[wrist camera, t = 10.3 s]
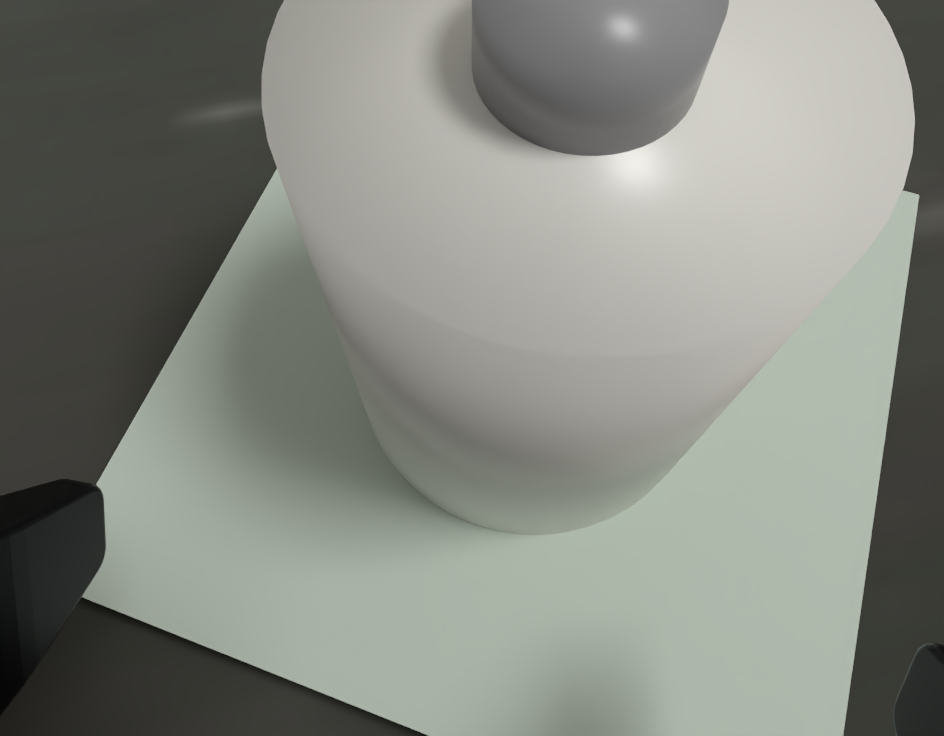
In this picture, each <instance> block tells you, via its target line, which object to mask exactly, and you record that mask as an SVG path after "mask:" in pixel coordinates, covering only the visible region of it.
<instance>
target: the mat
mask: <svg viewBox="0 0 944 736" xmlns="http://www.w3.org/2000/svg"><path fill="white" fill-rule="evenodd" d="M918 200H919V195H917V194H914V193H910V192H906V191H903V190H902V192H901V194H900V196H899V198H898V201H897V203H896V205H895V207H894V209H893V212H892V214H891V216H890V218H889V220H888V221H887V223H886V224H885V226H884V227H883V229H882V230H881V232H880V233H879V234H878V236H877V237H876V239H875V240H874V242H873V243H872V245H871V246H870V247H869V249H868V250H867V252H866V253H865V254H864V255H863V256H862V257H861V258H860V259H859V260H858V262H857V263H856V264H855V265H854V266H853V267H852V268H851V269H850V271H849V272H848V273H847V274H846V275H845V276H844V277H843V278H842V279H841V281H840V282H839V283H838V284H837V285H836V286H835V287H834V288H833V289H832V291H831V292H830V293H829V294H828V295H827V296H826V297H825V298H824V300H823V301H822V302H821V303H820V304H819V305H818V306H817V307H816V308H815V310H814V311H813V312H812V313H811V314H810V315H809V316H808V317H807V319H806V320H805V321H804V322H803V323H802V324H801V325H800V326H799V327H798V329H797V330H796V331H795V332H794V333H793V334H792V335H791V336H790V337H789V339H788V340H787V341H786V342H785V343H784V344H783V345H782V346H781V348H780V349H779V350H778V351H777V352H776V353H775V354H774V355H773V356H772V358H771V359H770V360H769V361H768V362H767V363H766V364H765V365H764V367H763V368H762V369H761V370H760V371H759V372H758V373H757V374H756V375H755V377H754V378H753V379H752V380H751V381H750V382H749V383H748V384H747V385H746V387H745V388H744V389H743V390H742V391H741V392H740V393H739V394H738V396H737V397H736V398H735V399H734V400H733V401H732V402H731V403H730V404H729V406H728V407H727V408H726V409H725V410H724V411H723V412H722V413H721V414H720V416H719V417H718V418H717V419H716V420H715V421H714V422H713V423H712V425H711V426H710V427H709V428H708V429H707V430H706V431H705V432H704V433H703V435H702V436H701V437H700V438H699V439H698V440H697V441H696V442H695V444H694V445H693V446H692V447H691V448H690V449H689V450H688V451H687V452H686V454H685V455H684V456H683V457H682V458H681V459H680V460H679V461H678V462H677V464H676V465H675V466H674V467H673V468H672V469H671V470H670V471H669V473H668V474H667V475H666V476H665V477H664V478H663V479H662V480H661V481H660V482H659V483H658V484H657V485H656V486H655V487H654V488H653V489H652V490H651V491H650V492H649V493H648V494H647V495H646V496H644V497H643V498H642V499H640V500H639V501H638V502H637V503H635V504H634V505H633V506H631V507H630V508H628V509H626V510H624V511H623V512H621V513H619V514H617V515H616V516H614V517H612V518H610V519H607V520H605V521H602V522H600V523H597V524H595V525H592V526H589V527H585V528H581V529H577V530H573V531H569V532H563V533H554V534H545V535H535V534H515V533H508V532H502V531H495V530H492V529H489V528H485V527H482V526H478V525H475V524H472V523H469V522H467V521H465V520H463V519H460V518H458V517H456V516H454V515H451V514H449V513H448V512H446V511H445V510H443V509H441V508H440V507H438V506H436V505H435V504H433V503H431V502H430V501H429V500H427V499H426V498H425V497H424V496H422V495H421V494H420V493H419V492H418V491H416V490H415V489H414V488H413V487H412V486H411V485H410V484H409V483H408V482H407V481H406V480H405V479H404V478H403V477H402V476H401V475H400V474H399V473H398V472H397V470H396V469H395V468H394V466H393V465H392V463H391V462H390V461H389V459H388V458H387V456H386V455H385V454H384V452H383V450H382V448H381V446H380V444H379V442H378V440H377V438H376V437H375V435H374V432H373V430H372V427H371V424H370V421H369V419H368V416H367V413H366V410H365V408H364V405H363V402H362V399H361V397H360V394H359V391H358V388H357V386H356V383H355V380H354V378H353V375H352V372H351V369H350V367H349V364H348V361H347V358H346V356H345V353H344V350H343V347H342V345H341V342H340V339H339V336H338V334H337V331H336V328H335V325H334V323H333V320H332V317H331V315H330V312H329V309H328V306H327V304H326V301H325V298H324V295H323V293H322V290H321V287H320V284H319V282H318V279H317V276H316V273H315V271H314V268H313V265H312V262H311V260H310V257H309V254H308V252H307V249H306V246H305V243H304V241H303V238H302V235H301V232H300V230H299V227H298V224H297V221H296V219H295V216H294V213H293V210H292V208H291V205H290V202H289V200H288V197H287V194H286V191H285V189H284V186H283V183H282V180H281V178H280V175H279V172H278V169H276V171H275V173H274V175H273V176H272V178H271V180H270V182H269V183H268V185H267V187H266V189H265V190H264V192H263V194H262V196H261V197H260V199H259V201H258V203H257V204H256V206H255V208H254V210H253V211H252V213H251V215H250V217H249V218H248V220H247V222H246V224H245V225H244V227H243V229H242V231H241V232H240V234H239V236H238V238H237V239H236V241H235V243H234V245H233V246H232V248H231V250H230V252H229V253H228V255H227V257H226V259H225V260H224V262H223V264H222V266H221V267H220V269H219V271H218V273H217V274H216V276H215V278H214V280H213V281H212V283H211V285H210V287H209V288H208V290H207V292H206V293H205V295H204V297H203V299H202V300H201V302H200V304H199V306H198V307H197V309H196V311H195V313H194V314H193V316H192V318H191V320H190V321H189V323H188V325H187V327H186V328H185V330H184V332H183V334H182V335H181V337H180V339H179V341H178V342H177V344H176V346H175V348H174V349H173V351H172V353H171V355H170V356H169V358H168V360H167V362H166V363H165V365H164V367H163V369H162V370H161V372H160V374H159V376H158V377H157V379H156V381H155V383H154V384H153V386H152V388H151V390H150V391H149V393H148V395H147V397H146V398H145V400H144V402H143V404H142V405H141V407H140V409H139V411H138V412H137V414H136V416H135V418H134V419H133V421H132V423H131V425H130V426H129V428H128V430H127V432H126V433H125V435H124V437H123V439H122V440H121V442H120V444H119V446H118V447H117V449H116V451H115V453H114V454H113V456H112V458H111V460H110V461H109V463H108V465H107V467H106V468H105V470H104V472H103V474H102V475H101V477H100V479H99V481H98V482H97V484H96V485H97V486H98V487H99V488H100V489H101V491H102V493H103V497H104V513H105V535H106V551H105V556H104V560H103V562H102V565H101V567H100V569H99V571H98V572H97V574H96V575H95V577H94V579H93V580H92V582H91V583H90V585H89V586H88V588H87V589H86V591H85V592H84V594H83V596H82V597H83V598H85V599H88V600H90V601H93V602H95V603H98V604H100V605H103V606H105V607H108V608H110V609H113V610H115V611H118V612H120V613H123V614H125V615H128V616H130V617H133V618H135V619H138V620H140V621H143V622H145V623H148V624H150V625H153V626H155V627H158V628H160V629H163V630H165V631H168V632H170V633H173V634H175V635H178V636H180V637H183V638H185V639H188V640H190V641H193V642H195V643H198V644H200V645H203V646H205V647H208V648H210V649H213V650H215V651H218V652H220V653H223V654H225V655H228V656H230V657H233V658H235V659H238V660H240V661H243V662H245V663H248V664H250V665H253V666H255V667H258V668H260V669H263V670H265V671H268V672H271V673H273V674H276V675H278V676H281V677H283V678H286V679H288V680H291V681H293V682H296V683H298V684H301V685H303V686H306V687H308V688H311V689H313V690H316V691H318V692H321V693H323V694H326V695H328V696H331V697H333V698H336V699H338V700H341V701H343V702H346V703H348V704H351V705H353V706H356V707H358V708H361V709H363V710H366V711H368V712H371V713H373V714H376V715H378V716H381V717H383V718H386V719H388V720H391V721H393V722H396V723H398V724H401V725H403V726H406V727H408V728H411V729H413V730H416V731H418V732H421V733H423V734H426V735H428V736H843V732H844V725H845V718H846V711H847V704H848V697H849V690H850V683H851V676H852V669H853V661H854V654H855V647H856V640H857V633H858V626H859V619H860V612H861V605H862V598H863V591H864V583H865V576H866V569H867V562H868V555H869V548H870V541H871V534H872V527H873V520H874V513H875V505H876V498H877V491H878V484H879V477H880V470H881V463H882V456H883V449H884V442H885V435H886V427H887V420H888V413H889V406H890V399H891V392H892V385H893V378H894V371H895V364H896V357H897V349H898V342H899V335H900V328H901V321H902V314H903V307H904V300H905V293H906V286H907V278H908V271H909V264H910V257H911V250H912V243H913V236H914V229H915V222H916V215H917V208H918Z"/></svg>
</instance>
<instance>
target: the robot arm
mask: <svg viewBox="0 0 944 736" xmlns="http://www.w3.org/2000/svg"><path fill="white" fill-rule="evenodd" d="M105 551H106V535H105V513H104V497H103V493H102V491H101V489H100V488H99V487H98V486H97V485H95V484H90V483H85V482H80V481H75V480H69V479H60V480H56V481H52V482H49V483H45V484H41V485H38V486H34V487H31V488H27V489H24V490H20V491H16V492H13V493H9V494H6V495H2V496H0V715H1V714H2V713H3V712H4V710H5V709H6V708H7V707H8V705H9V704H10V703H11V701H12V700H13V699H14V697H15V696H16V695H17V693H18V692H19V691H20V689H21V688H22V687H23V685H24V684H25V683H26V681H27V680H28V678H29V677H30V675H31V674H32V673H33V671H34V670H35V668H36V667H37V665H38V664H39V662H40V661H41V659H42V658H43V656H44V654H45V653H46V651H47V650H48V648H49V647H50V645H51V644H52V642H53V640H54V639H55V637H56V636H57V634H58V633H59V631H60V630H61V628H62V627H63V625H64V623H65V622H66V620H67V619H68V617H69V616H70V614H71V613H72V611H73V610H74V608H75V606H76V605H77V603H78V602H79V600H80V599H81V597H82V596H83V594H84V592H85V591H86V589H87V588H88V586H89V585H90V583H91V582H92V580H93V579H94V577H95V575H96V574H97V572H98V571H99V569H100V567H101V565H102V562H103V560H104V556H105ZM893 720H894V727H895V732H896V736H944V645H941V644H936V643H927V644H924V645H922V646H921V647H920V648H919V649H918V650H917V652H916V654H915V656H914V658H913V661H912V663H911V665H910V668H909V670H908V672H907V675H906V677H905V679H904V682H903V684H902V686H901V689H900V691H899V694H898V696H897V698H896V701H895V705H894V710H893Z"/></svg>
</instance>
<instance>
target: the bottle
mask: <svg viewBox="0 0 944 736" xmlns="http://www.w3.org/2000/svg"><path fill="white" fill-rule="evenodd" d="M262 112H263V118H264V123H265V129H266V135H267V141H268V144H269V147H270V149H271V152H272V155H273V158H274V161H275V164H276V166H277V169H278V172H279V175H280V178H281V180H282V183H283V186H284V189H285V191H286V194H287V197H288V200H289V202H290V205H291V208H292V210H293V213H294V216H295V219H296V221H297V224H298V227H299V230H300V232H301V235H302V238H303V241H304V243H305V246H306V249H307V252H308V254H309V257H310V260H311V262H312V265H313V268H314V271H315V273H316V276H317V279H318V282H319V284H320V287H321V290H322V293H323V295H324V298H325V301H326V304H327V306H328V309H329V312H330V315H331V317H332V320H333V323H334V325H335V328H336V331H337V334H338V336H339V339H340V342H341V345H342V347H343V350H344V353H345V356H346V358H347V361H348V364H349V367H350V369H351V372H352V375H353V378H354V380H355V383H356V386H357V388H358V391H359V394H360V397H361V399H362V402H363V405H364V408H365V410H366V413H367V416H368V419H369V421H370V424H371V427H372V430H373V432H374V435H375V437H376V438H377V440H378V442H379V444H380V446H381V448H382V450H383V452H384V454H385V455H386V456H387V458H388V459H389V461H390V462H391V463H392V465H393V466H394V468H395V469H396V470H397V472H398V473H399V474H400V475H401V476H402V477H403V478H404V479H405V480H406V481H407V482H408V483H409V484H410V485H411V486H412V487H413V488H414V489H415V490H416V491H418V492H419V493H420V494H421V495H422V496H424V497H425V498H426V499H427V500H429V501H430V502H431V503H433V504H435V505H436V506H438V507H440V508H441V509H443V510H445V511H446V512H448V513H449V514H451V515H454V516H456V517H458V518H460V519H463V520H465V521H467V522H469V523H472V524H475V525H478V526H482V527H485V528H489V529H492V530H495V531H502V532H508V533H515V534H535V535H545V534H554V533H563V532H569V531H573V530H577V529H581V528H585V527H589V526H592V525H595V524H597V523H600V522H602V521H605V520H607V519H610V518H612V517H614V516H616V515H617V514H619V513H621V512H623V511H624V510H626V509H628V508H630V507H631V506H633V505H634V504H635V503H637V502H638V501H639V500H640V499H642V498H643V497H644V496H646V495H647V494H648V493H649V492H650V491H651V490H652V489H653V488H654V487H655V486H656V485H657V484H658V483H659V482H660V481H661V480H662V479H663V478H664V477H665V476H666V475H667V474H668V473H669V471H670V470H671V469H672V468H673V467H674V466H675V465H676V464H677V462H678V461H679V460H680V459H681V458H682V457H683V456H684V455H685V454H686V452H687V451H688V450H689V449H690V448H691V447H692V446H693V445H694V444H695V442H696V441H697V440H698V439H699V438H700V437H701V436H702V435H703V433H704V432H705V431H706V430H707V429H708V428H709V427H710V426H711V425H712V423H713V422H714V421H715V420H716V419H717V418H718V417H719V416H720V414H721V413H722V412H723V411H724V410H725V409H726V408H727V407H728V406H729V404H730V403H731V402H732V401H733V400H734V399H735V398H736V397H737V396H738V394H739V393H740V392H741V391H742V390H743V389H744V388H745V387H746V385H747V384H748V383H749V382H750V381H751V380H752V379H753V378H754V377H755V375H756V374H757V373H758V372H759V371H760V370H761V369H762V368H763V367H764V365H765V364H766V363H767V362H768V361H769V360H770V359H771V358H772V356H773V355H774V354H775V353H776V352H777V351H778V350H779V349H780V348H781V346H782V345H783V344H784V343H785V342H786V341H787V340H788V339H789V337H790V336H791V335H792V334H793V333H794V332H795V331H796V330H797V329H798V327H799V326H800V325H801V324H802V323H803V322H804V321H805V320H806V319H807V317H808V316H809V315H810V314H811V313H812V312H813V311H814V310H815V308H816V307H817V306H818V305H819V304H820V303H821V302H822V301H823V300H824V298H825V297H826V296H827V295H828V294H829V293H830V292H831V291H832V289H833V288H834V287H835V286H836V285H837V284H838V283H839V282H840V281H841V279H842V278H843V277H844V276H845V275H846V274H847V273H848V272H849V271H850V269H851V268H852V267H853V266H854V265H855V264H856V263H857V262H858V260H859V259H860V258H861V257H862V256H863V255H864V254H865V253H866V252H867V250H868V249H869V247H870V246H871V245H872V243H873V242H874V240H875V239H876V237H877V236H878V234H879V233H880V232H881V230H882V229H883V227H884V226H885V224H886V223H887V221H888V220H889V218H890V216H891V214H892V212H893V209H894V207H895V205H896V203H897V201H898V198H899V196H900V194H901V192H902V190H903V188H904V184H905V180H906V176H907V173H908V169H909V165H910V161H911V157H912V152H913V139H914V125H915V116H914V106H913V96H912V86H911V83H910V79H909V75H908V72H907V68H906V64H905V61H904V57H903V54H902V51H901V49H900V47H899V45H898V42H897V40H896V38H895V36H894V33H893V31H892V29H891V27H890V24H889V23H888V21H887V20H886V18H885V16H884V15H883V13H882V12H881V10H880V8H879V7H878V5H877V4H876V2H875V0H284V2H283V4H282V6H281V7H280V9H279V11H278V13H277V16H276V19H275V22H274V25H273V28H272V30H271V33H270V36H269V39H268V42H267V47H266V53H265V58H264V64H263V70H262Z"/></svg>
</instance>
